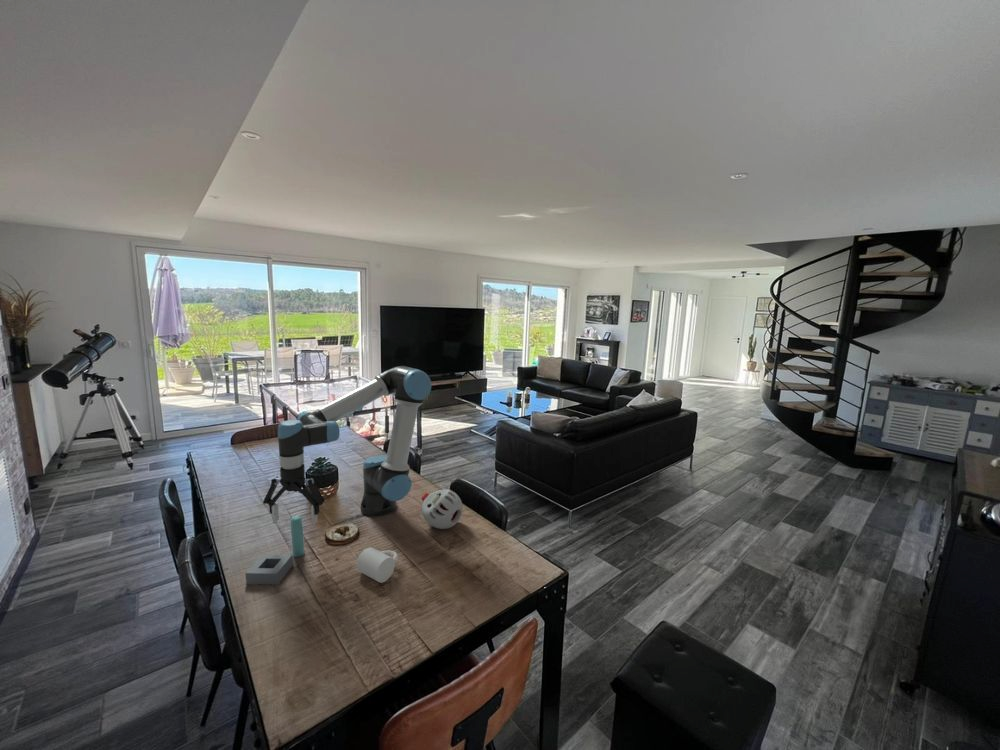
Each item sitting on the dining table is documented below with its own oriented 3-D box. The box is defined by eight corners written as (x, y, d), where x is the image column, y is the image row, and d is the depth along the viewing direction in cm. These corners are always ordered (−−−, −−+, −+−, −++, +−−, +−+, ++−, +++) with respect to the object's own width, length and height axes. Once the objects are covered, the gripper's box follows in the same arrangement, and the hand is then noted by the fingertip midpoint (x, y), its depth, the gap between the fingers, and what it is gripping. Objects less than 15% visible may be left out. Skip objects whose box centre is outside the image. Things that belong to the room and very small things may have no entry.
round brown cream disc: (323, 528, 162) (323, 519, 161) (362, 524, 166) (362, 514, 165) (318, 550, 148) (318, 540, 147) (361, 544, 152) (361, 534, 151)
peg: (306, 551, 146) (303, 515, 144) (301, 557, 143) (298, 521, 140) (296, 550, 146) (293, 515, 144) (291, 557, 143) (288, 520, 140)
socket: (293, 564, 139) (292, 554, 138) (277, 584, 129) (276, 573, 128) (264, 564, 139) (263, 553, 138) (246, 584, 129) (245, 573, 128)
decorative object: (436, 509, 178) (436, 478, 175) (469, 523, 167) (469, 490, 164) (410, 524, 165) (409, 490, 162) (443, 541, 154) (443, 505, 152)
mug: (377, 588, 129) (376, 565, 127) (356, 576, 134) (355, 554, 132) (404, 567, 139) (403, 546, 137) (384, 557, 144) (383, 537, 142)
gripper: (332, 462, 142) (334, 517, 146) (262, 460, 142) (265, 515, 146) (324, 470, 135) (326, 528, 139) (249, 468, 135) (253, 526, 138)
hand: (295, 522), depth 142 cm, fingers open, 13 cm apart
